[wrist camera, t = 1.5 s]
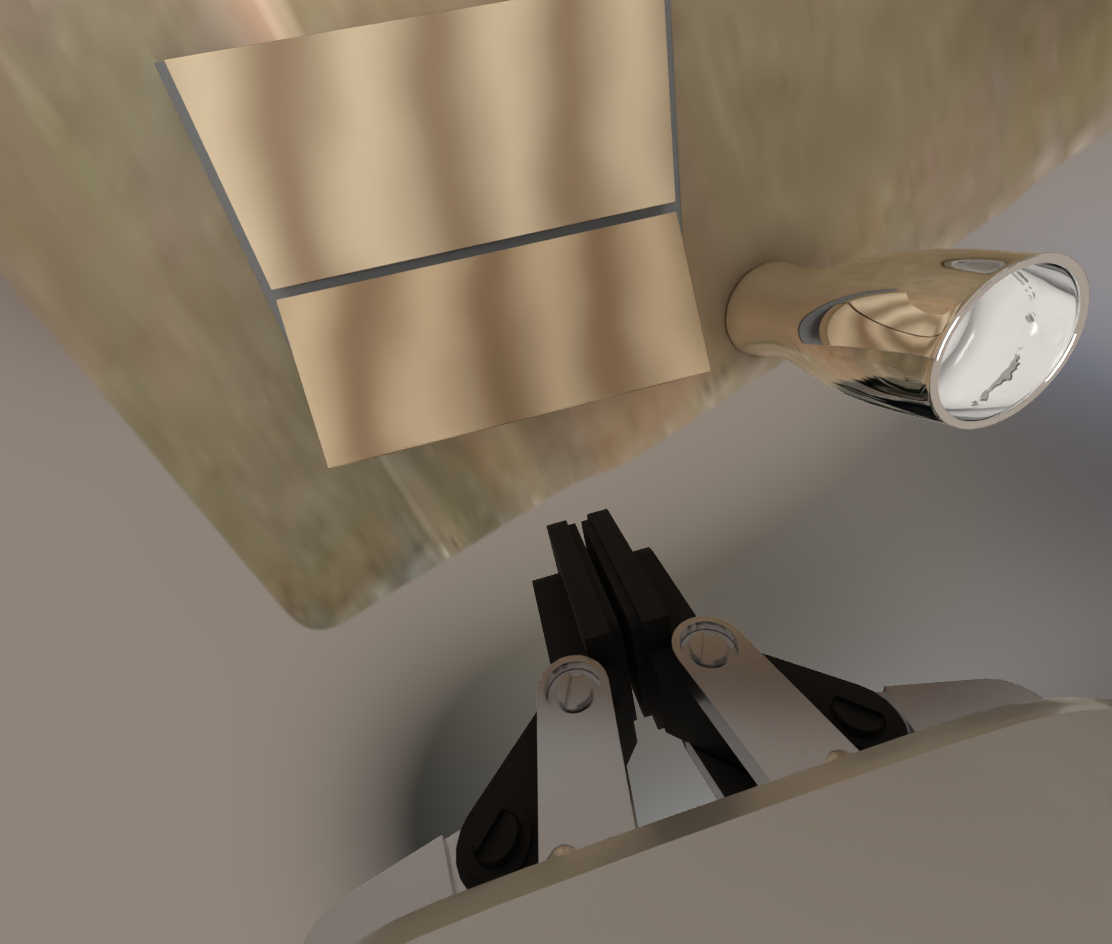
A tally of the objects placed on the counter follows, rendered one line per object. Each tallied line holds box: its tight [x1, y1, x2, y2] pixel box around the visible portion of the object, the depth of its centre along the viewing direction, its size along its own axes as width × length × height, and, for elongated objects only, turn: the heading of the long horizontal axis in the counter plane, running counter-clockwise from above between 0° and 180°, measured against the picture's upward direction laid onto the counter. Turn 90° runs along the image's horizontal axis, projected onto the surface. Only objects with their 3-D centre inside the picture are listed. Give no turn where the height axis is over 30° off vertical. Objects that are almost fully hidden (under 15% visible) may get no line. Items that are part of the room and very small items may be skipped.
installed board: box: [164, 0, 675, 290], centre depth 22 cm, size 22×9×2 cm, turn 101°
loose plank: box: [276, 212, 711, 468], centre depth 24 cm, size 22×9×2 cm, turn 101°
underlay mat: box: [154, 0, 682, 351], centre depth 25 cm, size 24×20×1 cm
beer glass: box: [726, 249, 1090, 429], centre depth 23 cm, size 7×7×15 cm
